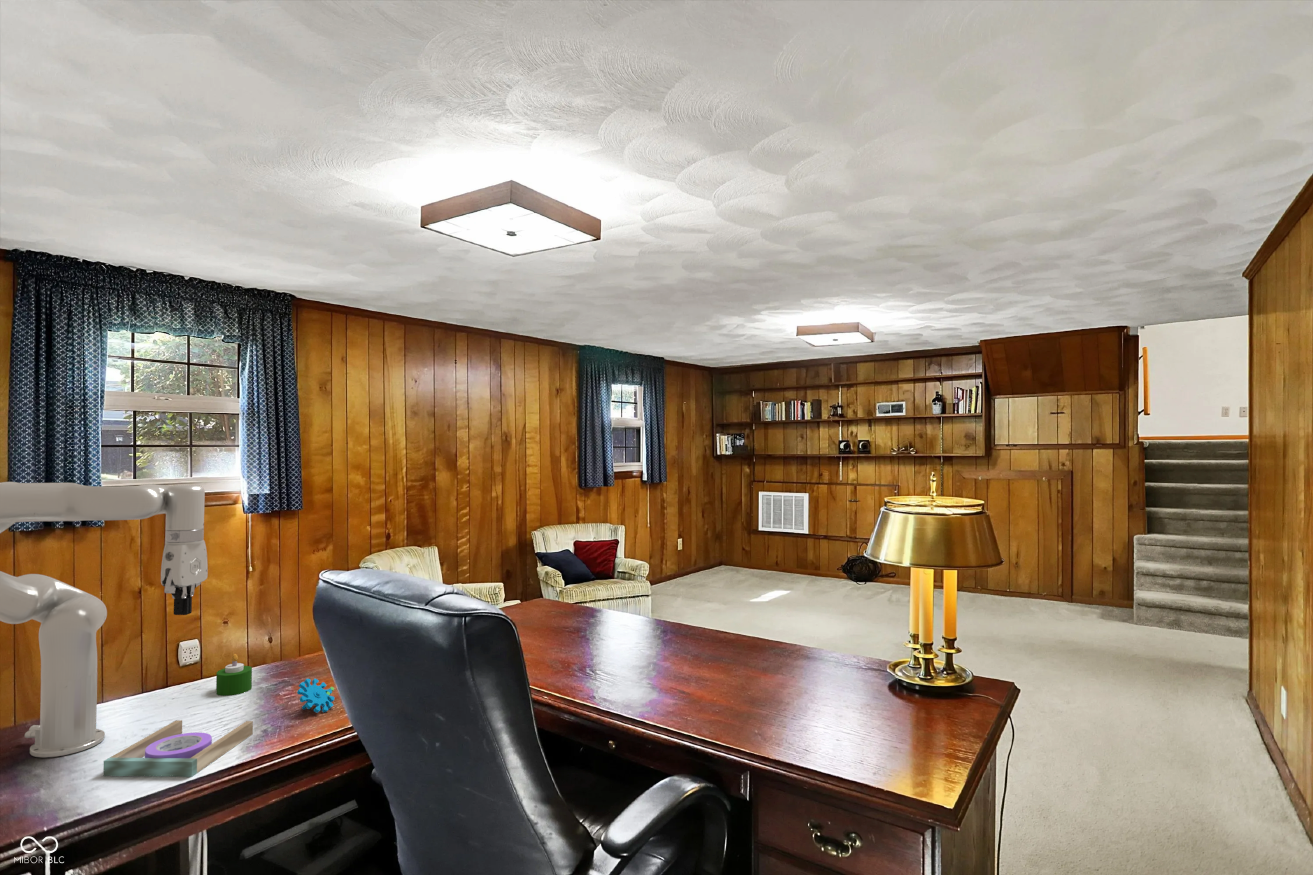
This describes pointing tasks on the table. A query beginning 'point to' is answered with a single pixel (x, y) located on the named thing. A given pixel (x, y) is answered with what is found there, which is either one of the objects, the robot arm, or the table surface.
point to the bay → (135, 765)
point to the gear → (315, 695)
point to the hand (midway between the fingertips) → (182, 613)
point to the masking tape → (179, 746)
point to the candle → (234, 679)
